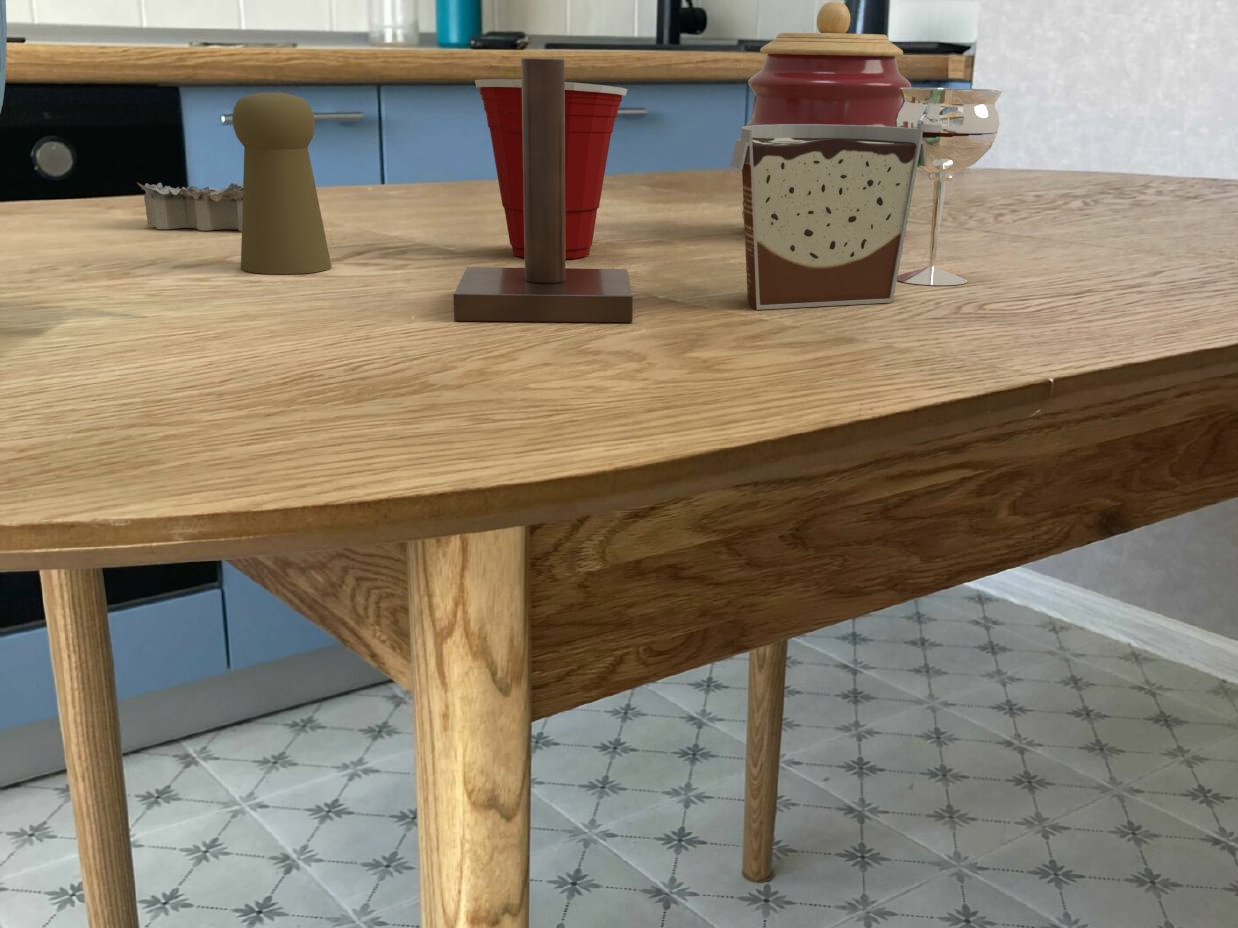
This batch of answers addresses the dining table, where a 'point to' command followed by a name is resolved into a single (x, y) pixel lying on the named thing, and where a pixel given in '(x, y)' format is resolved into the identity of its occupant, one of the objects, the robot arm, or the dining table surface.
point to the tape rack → (543, 230)
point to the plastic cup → (584, 155)
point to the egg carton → (194, 207)
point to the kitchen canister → (828, 77)
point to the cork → (279, 186)
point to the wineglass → (947, 149)
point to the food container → (825, 211)
